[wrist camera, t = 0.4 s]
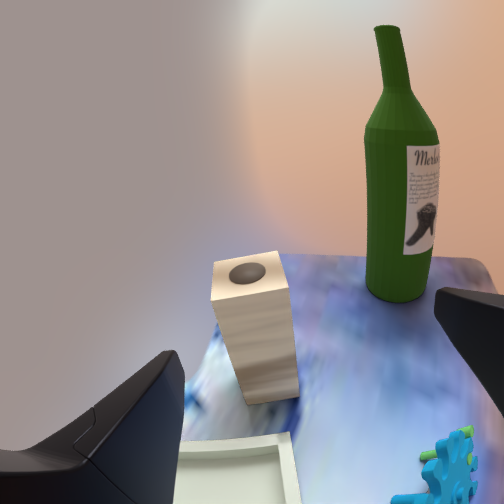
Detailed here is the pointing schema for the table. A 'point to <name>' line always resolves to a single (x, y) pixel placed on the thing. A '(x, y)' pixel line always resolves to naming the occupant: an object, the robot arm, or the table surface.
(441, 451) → the gear
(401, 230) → the wine bottle
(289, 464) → the sage tray
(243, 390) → the maple block
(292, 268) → the table surface
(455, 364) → the table surface
